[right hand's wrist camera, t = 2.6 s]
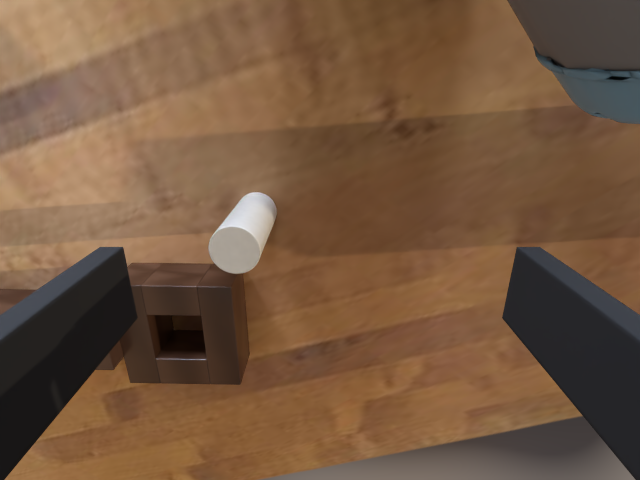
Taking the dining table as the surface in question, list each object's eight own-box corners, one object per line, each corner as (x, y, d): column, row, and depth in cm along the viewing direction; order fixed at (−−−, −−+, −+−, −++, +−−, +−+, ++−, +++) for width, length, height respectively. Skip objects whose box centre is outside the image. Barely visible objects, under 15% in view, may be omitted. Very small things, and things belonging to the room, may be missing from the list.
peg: (236, 191, 37) (205, 226, 28) (276, 192, 37) (258, 226, 28) (239, 229, 38) (211, 273, 29) (277, 229, 38) (261, 274, 29)
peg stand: (-13, 349, 45) (-70, 393, 39) (-49, 260, 40) (-121, 293, 34) (249, 354, 44) (236, 399, 38) (242, 264, 40) (225, 298, 33)
